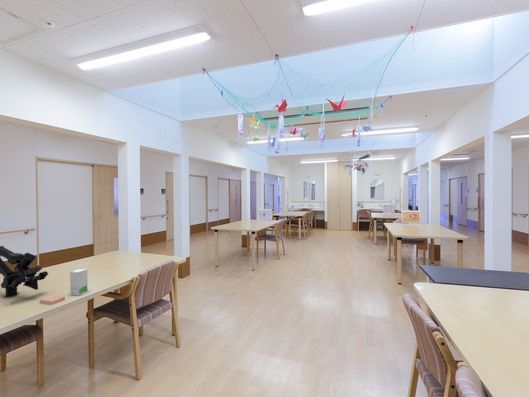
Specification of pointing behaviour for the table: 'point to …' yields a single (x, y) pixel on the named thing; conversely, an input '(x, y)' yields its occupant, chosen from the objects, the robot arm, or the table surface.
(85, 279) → the skincare box
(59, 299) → the pink flat block
